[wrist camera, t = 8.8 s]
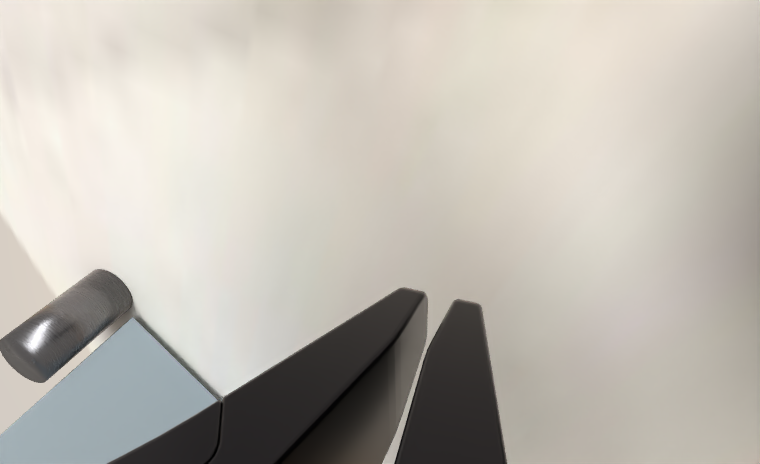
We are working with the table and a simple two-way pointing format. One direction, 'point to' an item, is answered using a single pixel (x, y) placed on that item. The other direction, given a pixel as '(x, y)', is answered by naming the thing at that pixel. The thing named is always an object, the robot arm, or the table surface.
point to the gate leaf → (107, 404)
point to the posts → (65, 326)
